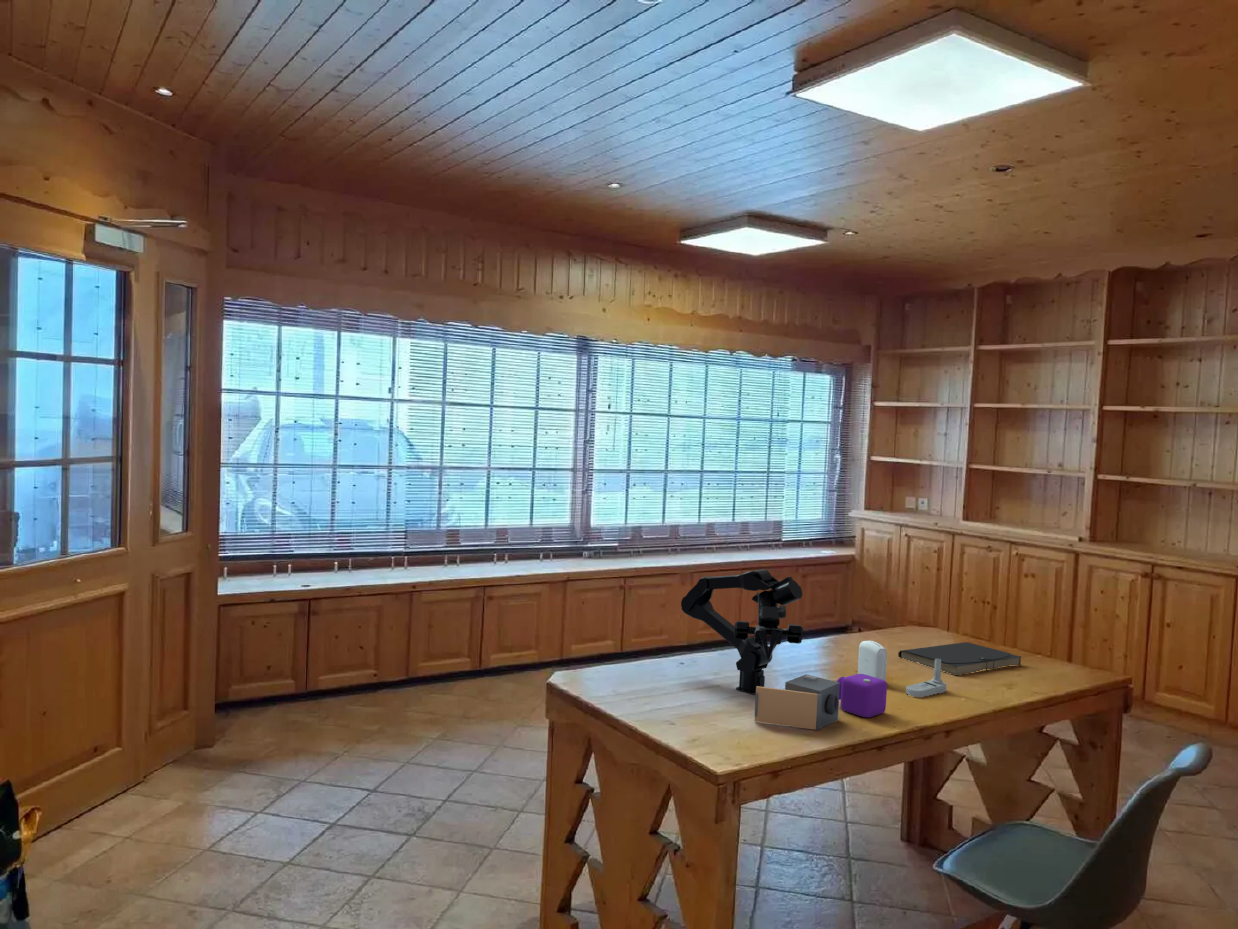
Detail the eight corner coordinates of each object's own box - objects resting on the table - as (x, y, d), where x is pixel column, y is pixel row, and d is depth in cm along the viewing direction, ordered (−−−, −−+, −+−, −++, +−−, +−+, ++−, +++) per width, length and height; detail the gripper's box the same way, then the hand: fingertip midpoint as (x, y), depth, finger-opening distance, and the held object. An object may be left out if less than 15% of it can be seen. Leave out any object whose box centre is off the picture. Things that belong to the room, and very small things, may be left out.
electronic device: (903, 662, 256) (936, 655, 264) (902, 695, 256) (934, 687, 264) (918, 667, 251) (951, 660, 259) (917, 700, 252) (949, 692, 260)
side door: (754, 722, 224) (755, 687, 224) (754, 720, 226) (756, 686, 225) (819, 731, 220) (821, 696, 219) (820, 729, 221) (822, 694, 221)
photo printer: (855, 677, 272) (857, 638, 271) (866, 676, 273) (869, 637, 273) (875, 687, 262) (878, 646, 261) (887, 686, 263) (889, 645, 263)
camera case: (783, 719, 228) (785, 679, 228) (804, 710, 236) (806, 672, 236) (821, 730, 221) (824, 689, 220) (842, 721, 229) (844, 681, 228)
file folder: (957, 665, 277) (898, 648, 298) (956, 678, 277) (898, 660, 298) (1022, 655, 294) (962, 640, 315) (1021, 667, 294) (961, 651, 315)
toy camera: (842, 700, 247) (844, 666, 246) (889, 712, 238) (891, 676, 238) (825, 709, 239) (827, 673, 238) (873, 721, 230) (875, 684, 229)
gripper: (736, 592, 242) (735, 641, 232) (804, 596, 240) (806, 646, 230) (734, 614, 250) (733, 662, 240) (800, 618, 248) (801, 667, 238)
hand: (768, 659), depth 236 cm, fingers closed
